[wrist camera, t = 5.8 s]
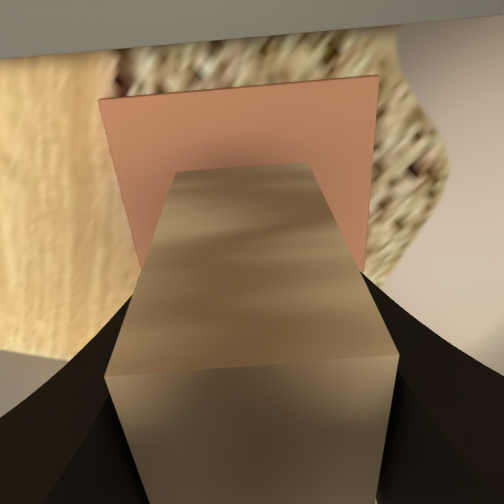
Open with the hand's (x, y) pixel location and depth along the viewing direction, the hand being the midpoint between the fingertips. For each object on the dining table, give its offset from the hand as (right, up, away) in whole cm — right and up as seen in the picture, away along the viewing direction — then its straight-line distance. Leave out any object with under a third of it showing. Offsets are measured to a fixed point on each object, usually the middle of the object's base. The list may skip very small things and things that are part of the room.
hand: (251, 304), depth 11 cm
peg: (0, +2, +3) cm, 4 cm away
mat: (0, +4, +10) cm, 10 cm away
